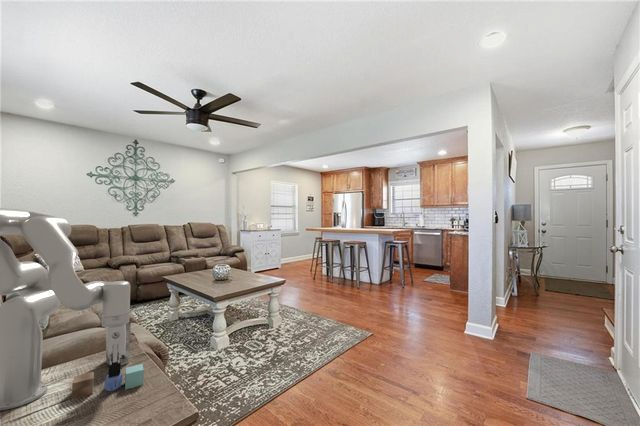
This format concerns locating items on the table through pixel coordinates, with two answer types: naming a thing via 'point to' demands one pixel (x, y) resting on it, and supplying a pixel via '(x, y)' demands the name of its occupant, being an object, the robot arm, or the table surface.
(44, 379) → the table surface
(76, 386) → the walnut block
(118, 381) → the decorative dice
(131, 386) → the teal block
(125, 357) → the coffee box
